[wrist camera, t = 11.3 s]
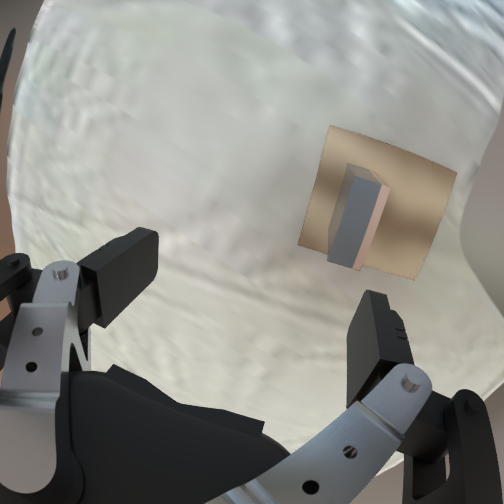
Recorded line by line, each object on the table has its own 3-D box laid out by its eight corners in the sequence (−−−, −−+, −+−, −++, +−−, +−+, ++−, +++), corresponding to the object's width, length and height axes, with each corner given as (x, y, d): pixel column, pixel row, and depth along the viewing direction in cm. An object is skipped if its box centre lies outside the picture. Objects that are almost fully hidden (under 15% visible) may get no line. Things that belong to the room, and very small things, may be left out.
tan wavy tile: (329, 125, 22) (329, 125, 22) (453, 171, 21) (457, 172, 20) (298, 241, 27) (297, 245, 27) (412, 276, 26) (414, 280, 25)
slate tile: (347, 162, 22) (354, 175, 17) (374, 171, 22) (390, 187, 16) (328, 228, 25) (327, 261, 19) (353, 236, 25) (360, 270, 19)
